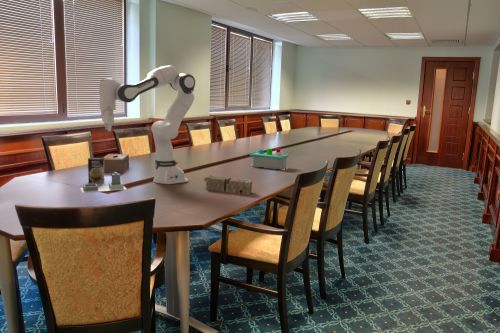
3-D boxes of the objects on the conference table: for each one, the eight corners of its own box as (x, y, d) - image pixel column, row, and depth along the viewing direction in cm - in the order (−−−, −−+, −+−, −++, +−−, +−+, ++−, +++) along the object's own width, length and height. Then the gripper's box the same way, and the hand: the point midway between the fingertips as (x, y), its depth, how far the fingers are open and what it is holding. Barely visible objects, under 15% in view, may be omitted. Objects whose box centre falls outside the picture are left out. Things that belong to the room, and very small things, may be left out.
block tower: (252, 193, 249) (209, 187, 259) (253, 180, 248) (209, 173, 257) (248, 196, 242) (203, 189, 251) (249, 182, 240) (204, 176, 250)
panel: (122, 187, 249) (122, 180, 248) (127, 191, 238) (127, 185, 238) (80, 190, 237) (79, 183, 237) (82, 195, 227) (82, 188, 226)
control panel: (256, 144, 343) (290, 147, 331) (255, 164, 346) (289, 168, 334) (248, 146, 330) (283, 150, 317) (248, 166, 333) (282, 171, 320)
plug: (118, 186, 243) (118, 171, 242) (120, 188, 240) (120, 173, 238) (111, 187, 242) (111, 172, 240) (113, 188, 238) (112, 173, 237)
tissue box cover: (122, 173, 289) (121, 159, 287) (100, 173, 287) (100, 159, 286) (129, 167, 314) (128, 154, 312) (109, 166, 313) (109, 153, 311)
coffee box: (88, 185, 250) (87, 159, 248) (89, 183, 256) (88, 157, 254) (104, 185, 253) (103, 159, 250) (104, 182, 259) (104, 157, 256)
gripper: (116, 107, 233) (117, 132, 235) (110, 106, 251) (110, 128, 253) (104, 107, 230) (105, 132, 232) (99, 105, 248) (99, 128, 250)
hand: (108, 130), depth 243 cm, fingers open, 8 cm apart
